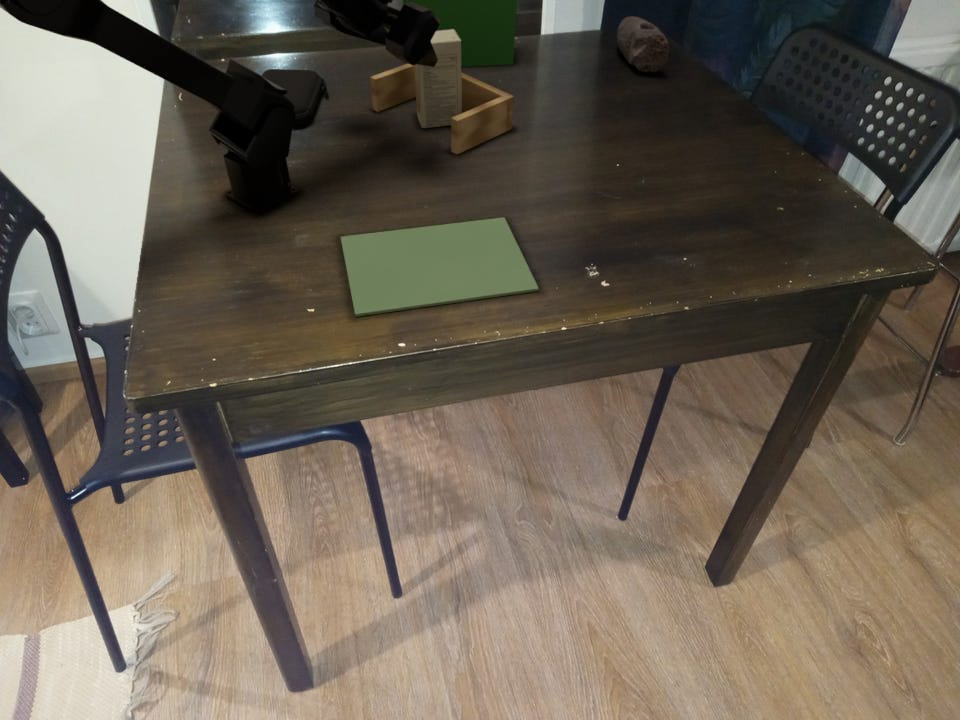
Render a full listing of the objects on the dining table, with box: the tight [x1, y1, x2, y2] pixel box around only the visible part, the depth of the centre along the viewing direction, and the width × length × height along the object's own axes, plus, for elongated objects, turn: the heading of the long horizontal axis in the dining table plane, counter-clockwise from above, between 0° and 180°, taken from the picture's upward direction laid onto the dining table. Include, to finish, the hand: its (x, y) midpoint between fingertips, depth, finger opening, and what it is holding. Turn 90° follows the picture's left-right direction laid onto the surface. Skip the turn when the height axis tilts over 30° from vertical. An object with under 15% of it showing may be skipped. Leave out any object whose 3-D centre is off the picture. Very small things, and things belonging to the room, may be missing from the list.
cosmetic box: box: [414, 29, 463, 129], centre depth 99 cm, size 6×4×12 cm
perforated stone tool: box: [616, 15, 670, 73], centre depth 118 cm, size 15×5×7 cm, turn 12°
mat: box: [340, 216, 540, 318], centre depth 79 cm, size 20×14×1 cm
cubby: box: [369, 63, 515, 155], centre depth 102 cm, size 11×18×5 cm, turn 45°
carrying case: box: [261, 68, 328, 126], centre depth 104 cm, size 11×3×15 cm
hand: (412, 52), depth 93 cm, fingers open, 9 cm apart
